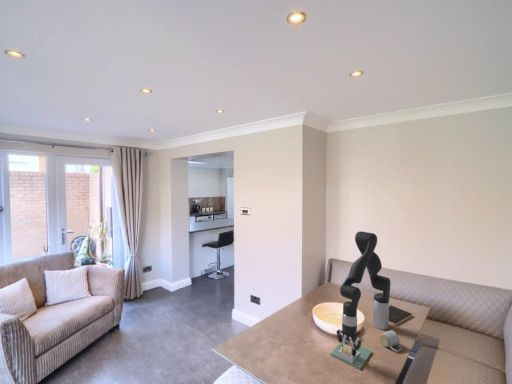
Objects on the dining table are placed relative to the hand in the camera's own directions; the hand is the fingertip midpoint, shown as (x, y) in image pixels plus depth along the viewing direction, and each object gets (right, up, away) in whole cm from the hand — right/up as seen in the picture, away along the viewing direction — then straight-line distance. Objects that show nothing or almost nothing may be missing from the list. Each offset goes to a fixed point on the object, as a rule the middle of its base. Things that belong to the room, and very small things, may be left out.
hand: (348, 352), depth 139 cm
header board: (+3, -2, +3) cm, 4 cm away
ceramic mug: (+28, -3, +10) cm, 30 cm away
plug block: (0, -1, 0) cm, 1 cm away
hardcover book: (+48, -2, +44) cm, 65 cm away
